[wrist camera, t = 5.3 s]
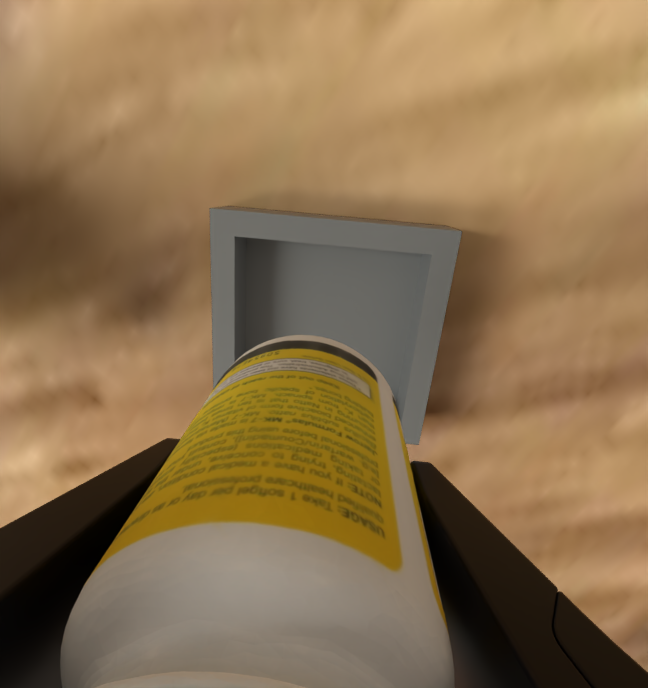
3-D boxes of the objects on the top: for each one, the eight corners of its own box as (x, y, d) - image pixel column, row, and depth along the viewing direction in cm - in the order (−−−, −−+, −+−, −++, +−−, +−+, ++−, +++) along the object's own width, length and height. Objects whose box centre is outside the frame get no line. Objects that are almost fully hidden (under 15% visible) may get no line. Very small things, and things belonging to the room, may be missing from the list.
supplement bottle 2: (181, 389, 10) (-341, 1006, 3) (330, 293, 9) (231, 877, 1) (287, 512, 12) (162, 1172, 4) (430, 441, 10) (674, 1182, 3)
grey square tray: (229, 397, 22) (214, 423, 19) (228, 206, 18) (209, 208, 16) (410, 416, 21) (418, 444, 19) (446, 226, 18) (462, 231, 15)
